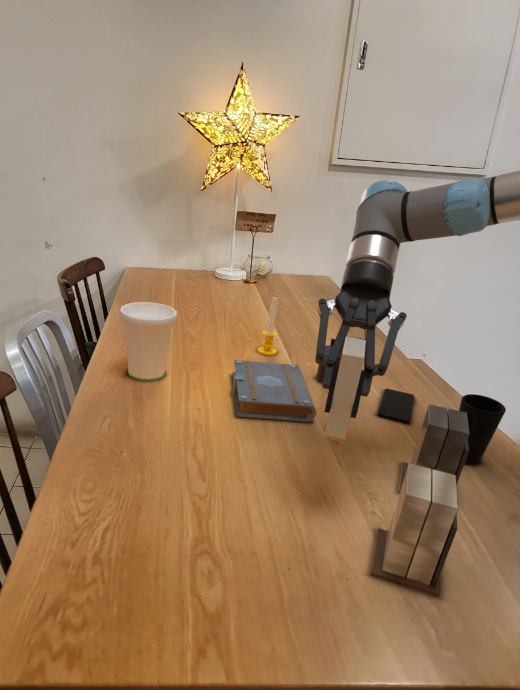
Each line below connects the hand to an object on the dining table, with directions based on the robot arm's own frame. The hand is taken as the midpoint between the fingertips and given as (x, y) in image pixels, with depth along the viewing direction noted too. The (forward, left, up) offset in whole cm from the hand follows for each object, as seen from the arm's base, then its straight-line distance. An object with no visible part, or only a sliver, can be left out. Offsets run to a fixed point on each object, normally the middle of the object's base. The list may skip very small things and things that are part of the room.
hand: (340, 412), depth 77 cm
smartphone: (-9, -47, -18) cm, 51 cm away
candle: (+26, -63, -18) cm, 70 cm away
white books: (-14, +5, -18) cm, 23 cm away
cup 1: (+47, -33, -18) cm, 60 cm away
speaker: (+7, -53, -18) cm, 56 cm away
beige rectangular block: (0, -4, -4) cm, 6 cm away
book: (+18, -36, -18) cm, 44 cm away
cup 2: (-23, -30, -18) cm, 43 cm away
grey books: (-16, -17, -18) cm, 29 cm away
